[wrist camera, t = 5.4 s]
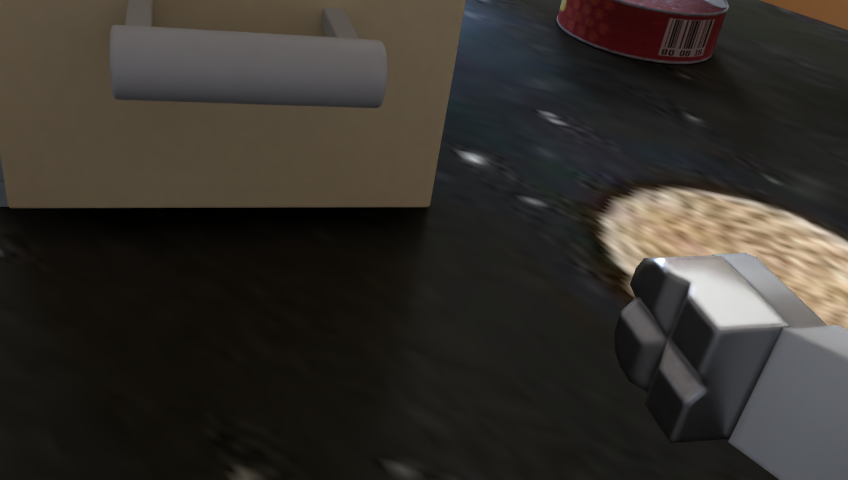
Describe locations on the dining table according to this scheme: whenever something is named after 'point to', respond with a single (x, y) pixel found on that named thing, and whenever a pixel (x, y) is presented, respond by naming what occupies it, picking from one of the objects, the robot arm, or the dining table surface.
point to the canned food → (647, 27)
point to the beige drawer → (224, 102)
